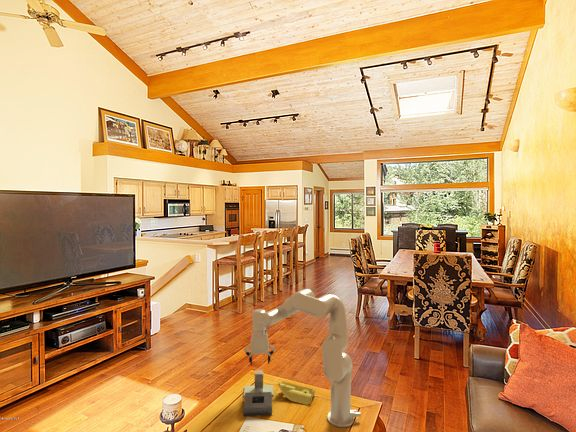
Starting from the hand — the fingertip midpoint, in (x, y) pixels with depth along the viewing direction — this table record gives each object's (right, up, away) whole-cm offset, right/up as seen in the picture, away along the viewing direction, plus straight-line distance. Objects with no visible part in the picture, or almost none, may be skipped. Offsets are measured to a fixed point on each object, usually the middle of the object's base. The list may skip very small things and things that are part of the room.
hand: (259, 363), depth 183 cm
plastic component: (+20, -17, -4) cm, 27 cm away
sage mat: (-1, -16, 0) cm, 16 cm away
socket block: (0, -16, -15) cm, 22 cm away
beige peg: (-1, -15, 0) cm, 15 cm away
